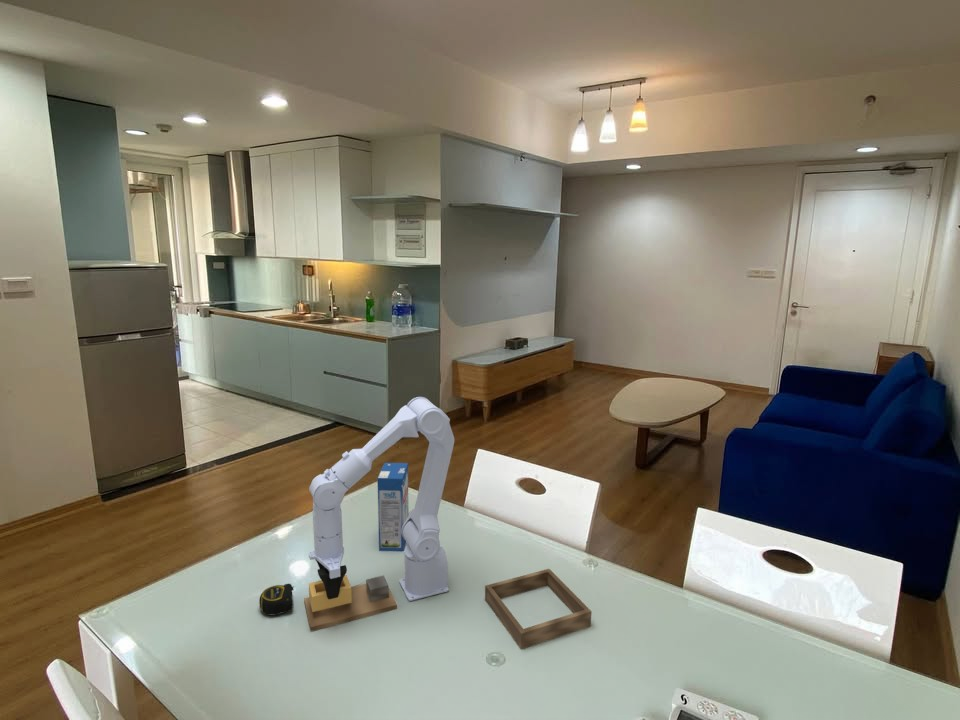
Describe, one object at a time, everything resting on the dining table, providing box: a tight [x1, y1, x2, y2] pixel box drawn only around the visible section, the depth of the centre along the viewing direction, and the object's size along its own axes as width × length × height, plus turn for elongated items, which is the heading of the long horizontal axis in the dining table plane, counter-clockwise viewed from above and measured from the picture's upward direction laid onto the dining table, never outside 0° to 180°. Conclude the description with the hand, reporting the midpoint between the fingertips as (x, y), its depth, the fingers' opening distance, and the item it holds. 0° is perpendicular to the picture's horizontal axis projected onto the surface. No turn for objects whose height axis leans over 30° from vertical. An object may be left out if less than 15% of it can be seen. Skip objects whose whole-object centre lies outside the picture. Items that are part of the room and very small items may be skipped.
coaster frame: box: [484, 568, 592, 650], centre depth 116 cm, size 16×16×4 cm
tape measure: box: [259, 583, 295, 616], centre depth 116 cm, size 7×7×4 cm
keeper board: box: [303, 575, 398, 632], centre depth 117 cm, size 18×10×5 cm, turn 115°
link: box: [308, 574, 352, 612], centre depth 115 cm, size 8×5×4 cm, turn 115°
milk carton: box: [376, 462, 410, 552], centre depth 141 cm, size 10×6×20 cm, turn 179°
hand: (330, 589), depth 115 cm, fingers closed on link, 5 cm apart
